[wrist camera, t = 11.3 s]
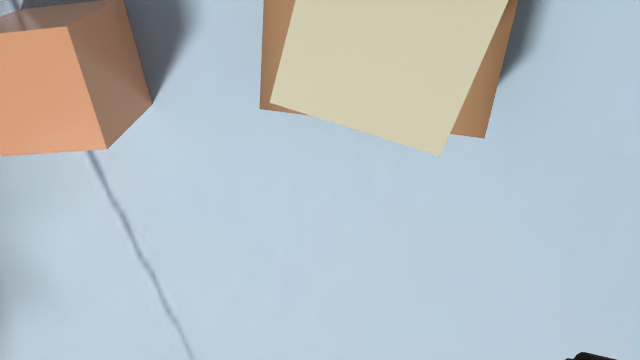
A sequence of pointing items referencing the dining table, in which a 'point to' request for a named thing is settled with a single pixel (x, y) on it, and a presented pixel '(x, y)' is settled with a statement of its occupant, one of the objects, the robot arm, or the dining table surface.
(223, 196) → the dining table surface
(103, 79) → the terracotta block
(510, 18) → the walnut block
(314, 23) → the cream block
